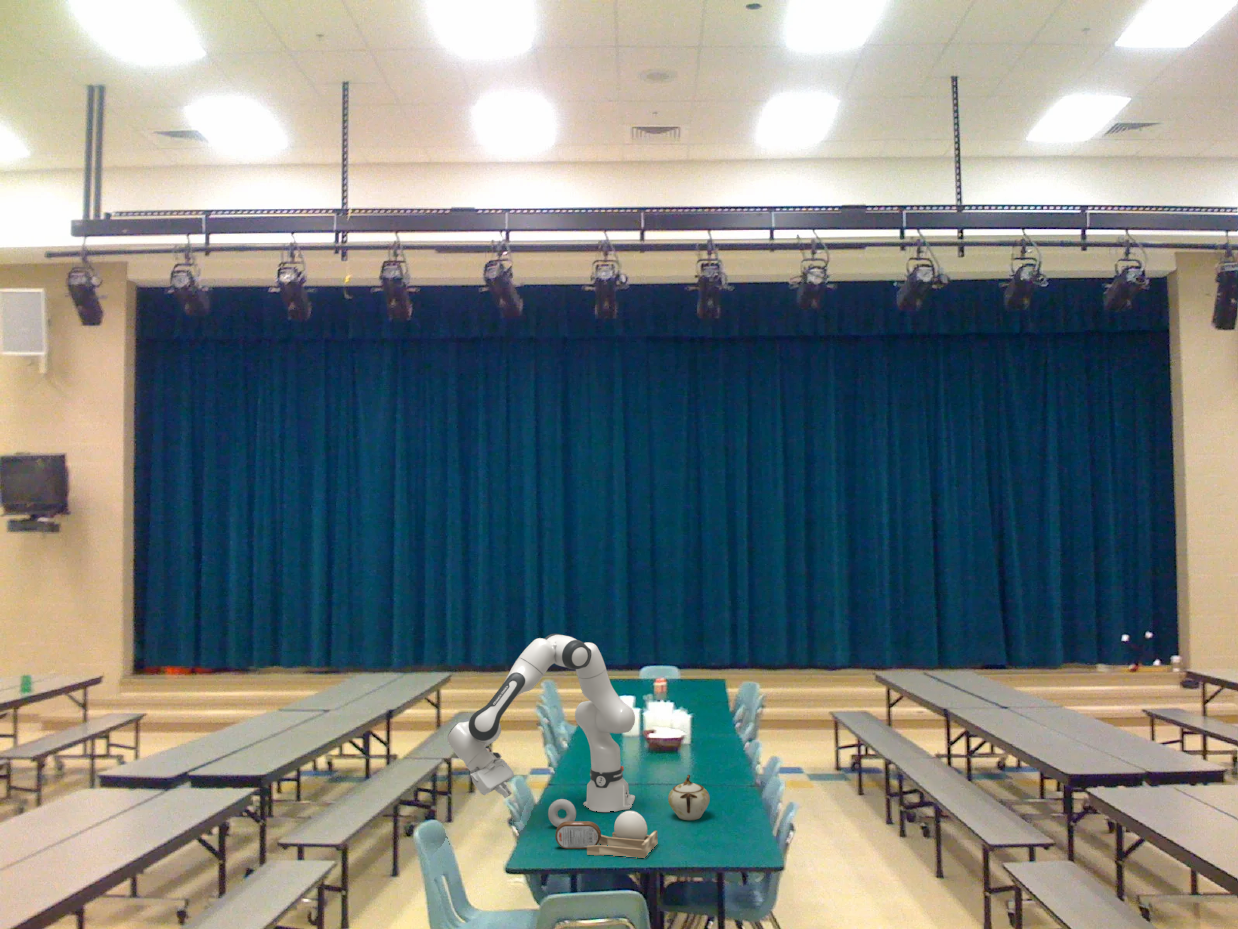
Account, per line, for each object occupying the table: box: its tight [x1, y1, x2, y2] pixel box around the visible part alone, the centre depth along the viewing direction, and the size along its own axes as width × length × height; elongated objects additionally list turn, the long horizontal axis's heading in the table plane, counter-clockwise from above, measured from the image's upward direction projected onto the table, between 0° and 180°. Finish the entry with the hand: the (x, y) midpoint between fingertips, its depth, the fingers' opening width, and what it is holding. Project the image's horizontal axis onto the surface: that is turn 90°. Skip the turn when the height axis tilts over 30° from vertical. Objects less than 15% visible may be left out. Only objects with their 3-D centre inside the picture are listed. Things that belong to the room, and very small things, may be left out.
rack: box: [586, 830, 659, 859], centre depth 310 cm, size 16×19×4 cm
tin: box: [554, 820, 602, 850], centre depth 313 cm, size 15×3×8 cm, turn 86°
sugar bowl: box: [667, 774, 711, 821], centre depth 343 cm, size 20×15×15 cm
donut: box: [547, 798, 577, 828], centre depth 334 cm, size 10×4×10 cm, turn 83°
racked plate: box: [613, 810, 648, 840], centre depth 314 cm, size 2×11×11 cm, turn 71°
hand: (508, 795), depth 322 cm, fingers closed
